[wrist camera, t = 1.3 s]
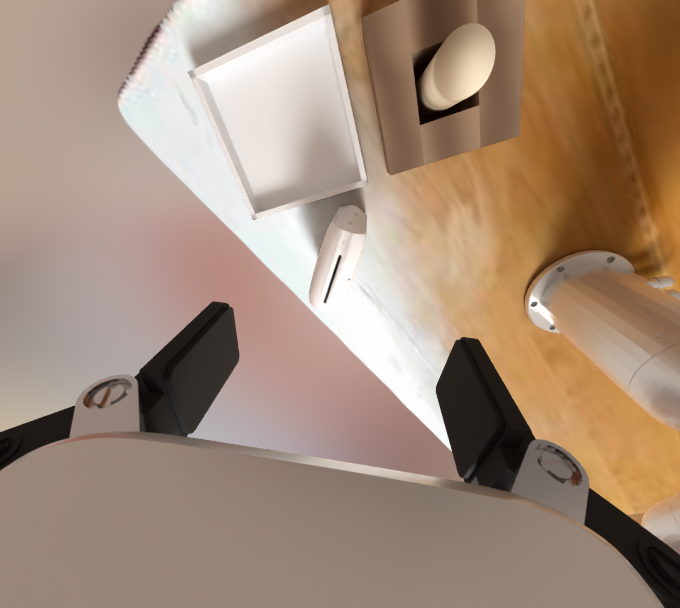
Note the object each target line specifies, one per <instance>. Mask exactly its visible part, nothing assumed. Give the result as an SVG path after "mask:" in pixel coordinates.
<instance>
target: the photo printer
mask: <svg viewBox="0 0 680 608" xmlns="http://www.w3.org/2000/svg"><path fill="white" fill-rule="evenodd" d="M366 226H367V215H366V214H364V213H363V211H362V210H361V209H360V208H359V207H357V206H354V205H347V206H344V207H343V206H340V208H339V209H338V211H337V213H336V214H335V216H334V218H333V220H332V221H331V223H330V225H329V227H328V229H327V231H326V234H325V237H324V240H323V243H322V246H321V249H320V252H319V255H318V259H317V262H316V266H315V269H314V273H313V277H312V281H311V285H310V291H309V300H310V303H311V305H312V306H313V307H315V308H316V309H319V310H323V311H325V312H334V311H336V310H337V309H338V308H339V307H340V305H341V304H342V303H343V301H344V299H345V297H346V295H347V293H348V291H349V288H350V286H351V284H352V281H353V279H354V276H355V273H356V271H357V268H358V265H359V262H360V259H361V256H362V253H363V249H364V245H365V240H366Z"/></svg>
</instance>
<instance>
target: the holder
mask: <svg viewBox="0 0 680 608" xmlns="http://www.w3.org/2000/svg"><path fill="white" fill-rule="evenodd" d="M524 19H525V0H400V1H397V2H395V3H393V4H391V5H389V6H386V7H384V8H382V9H380V10H378V11H375V12H373V13H371V14H369V15H367V16H364V17H363V30H364V43H365V49H366V54H367V60H368V66H369V71H370V77H371V82H372V88H373V94H374V99H375V105H376V110H377V116H378V122H379V127H380V133H381V138H382V144H383V150H384V155H385V161H386V166H387V172H388V173H389V174H390V175H393V174H396V173H400V172H403V171H406V170H410V169H413V168H416V167H419V166H423V165H426V164H429V163H432V162H436V161H439V160H442V159H445V158H449V157H452V156H455V155H458V154H462V153H465V152H468V151H471V150H475V149H478V148H481V147H484V146H488V145H491V144H494V143H497V142H501V141H504V140H507V139H510V138H514V137H517V136H520V116H521V92H522V68H523V44H524ZM470 23H476V24H480V25H482V26H484V27H485V28H487V29H488V30H489V32H490V33H491V35H492V37H493V39H494V43H495V61H494V65H493V68H492V71H491V73H490V75H489V77H488V79H487V81H486V82H485V83H484V85H483V86H482V87H481V88H480V89H479V90H478V91H477V92H476V93H474V94H473V95H471V96H470V97H468V98H466V99H464V100H462V101H461V104H462V111H461V112H458V113H455V114H452V115H449V116H446V117H443V118H440V119H437V120H434V121H431V122H429V123H426V124H423V125H420V122H419V114H418V105H417V96H416V88H415V79H414V70H413V67H414V66H417V65H419V64H422V63H424V62H427V61H429V60H432V59H433V57H434V56H435V54H436V53H437V51H438V50H439V48H440V47H441V46H442V44H443V43H444V41H445V40H446V38H447V37H448V36H449V35H450V34H451V33H452V32H453V31H454V30H456V29H457V28H459V27H461V26H463V25H466V24H470Z"/></svg>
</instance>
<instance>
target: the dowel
mask: <svg viewBox="0 0 680 608" xmlns="http://www.w3.org/2000/svg"><path fill="white" fill-rule="evenodd" d="M494 61H495V43H494V39H493V37H492V35H491V33H490V32H489V30H488V29H487V28H485V27H484V26H482V25H480V24H476V23H470V24H466V25H463V26H461V27H459V28H457V29H456V30H454V31H453V32H452V33H451V34H450V35H449V36H448V37H447V38H446V40H445V41H444V43H443V44H442V46H441V47H440V48H439V50H438V51H437V53H436V54H435V56H434V57H433V59H432V60H431V62H430V63H429V65H428V66H427V68H426V69H425V71H424V72H423V74H422V75H421V77H420V78H419V80H418V82H417V84H416V87H415V88H416V96H417V105H418V110H419V111H420V112H421V113H422V114H424V115H428V116H433V115H437V114H439V113H441V112H442V111H444V110H446V109H448V108H450V107H451V106H453V105H455V104H457V103H459V102H460V101H462V100H464V99H466V98H468V97H470V96H471V95H473V94H474V93H476V92H477V91H478V90H479V89H480V88H481V87H482V86H483V85H484V83H485V82H486V81H487V79H488V77H489V75H490V73H491V71H492V68H493V65H494Z"/></svg>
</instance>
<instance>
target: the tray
mask: <svg viewBox="0 0 680 608" xmlns="http://www.w3.org/2000/svg"><path fill="white" fill-rule="evenodd" d="M188 73H189V76H190V78H191V80H192V82H193V85H194V87H195V89H196V92H197V94H198V96H199V98H200V101H201V103H202V105H203V107H204V110H205V112H206V114H207V116H208V119H209V121H210V123H211V126H212V128H213V130H214V132H215V135H216V137H217V139H218V141H219V144H220V146H221V148H222V150H223V153H224V155H225V157H226V160H227V162H228V164H229V166H230V169H231V171H232V173H233V175H234V178H235V180H236V182H237V184H238V187H239V189H240V191H241V194H242V196H243V198H244V200H245V203H246V205H247V207H248V209H249V212H250V214H251V216H252V218H253V220H255V219H258V218H261V217H265V216H268V215H271V214H274V213H278V212H281V211H284V210H288V209H291V208H294V207H297V206H301V205H304V204H307V203H311V202H314V201H317V200H320V199H324V198H327V197H330V196H334V195H337V194H340V193H343V192H347V191H350V190H353V189H357V188H360V187H363V186H366V185H368V180H367V175H366V171H365V166H364V161H363V157H362V152H361V148H360V143H359V138H358V134H357V129H356V124H355V120H354V115H353V110H352V106H351V101H350V96H349V92H348V87H347V83H346V78H345V73H344V69H343V64H342V59H341V55H340V50H339V45H338V41H337V36H336V32H335V27H334V22H333V18H332V14H331V10H330V6H329V4H328V5H326V6H324V7H321V8H319V9H317V10H315V11H313V12H311V13H309V14H307V15H305V16H303V17H301V18H299V19H297V20H295V21H292V22H290V23H288V24H286V25H284V26H282V27H280V28H278V29H276V30H274V31H272V32H270V33H268V34H266V35H263V36H261V37H259V38H257V39H255V40H253V41H251V42H249V43H247V44H245V45H243V46H241V47H239V48H237V49H234V50H232V51H230V52H228V53H226V54H224V55H222V56H220V57H218V58H216V59H214V60H212V61H210V62H208V63H205V64H203V65H201V66H199V67H197V68H195V69H193V70H191V71H189V72H188Z"/></svg>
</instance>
